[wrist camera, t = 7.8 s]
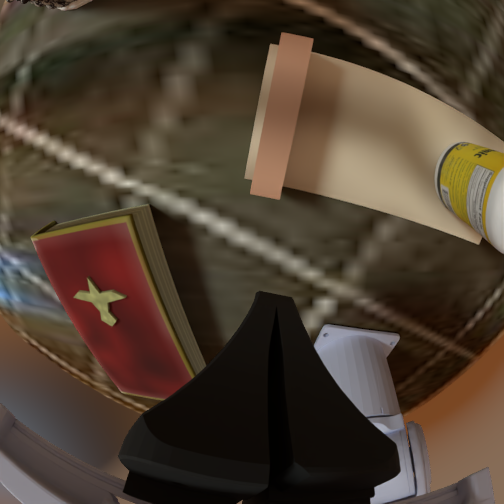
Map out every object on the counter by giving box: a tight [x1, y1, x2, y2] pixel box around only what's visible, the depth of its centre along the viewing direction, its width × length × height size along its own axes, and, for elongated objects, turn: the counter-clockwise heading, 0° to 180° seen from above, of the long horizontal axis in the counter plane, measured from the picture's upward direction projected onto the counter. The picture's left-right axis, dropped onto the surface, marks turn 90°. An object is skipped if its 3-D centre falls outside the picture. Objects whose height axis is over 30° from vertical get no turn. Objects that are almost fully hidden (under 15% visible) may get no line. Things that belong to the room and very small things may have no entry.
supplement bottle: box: [434, 142, 504, 254], centre depth 11 cm, size 5×5×10 cm
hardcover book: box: [31, 204, 207, 400], centre depth 23 cm, size 12×21×4 cm, turn 9°
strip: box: [245, 32, 504, 245], centre depth 14 cm, size 9×20×3 cm, turn 80°
